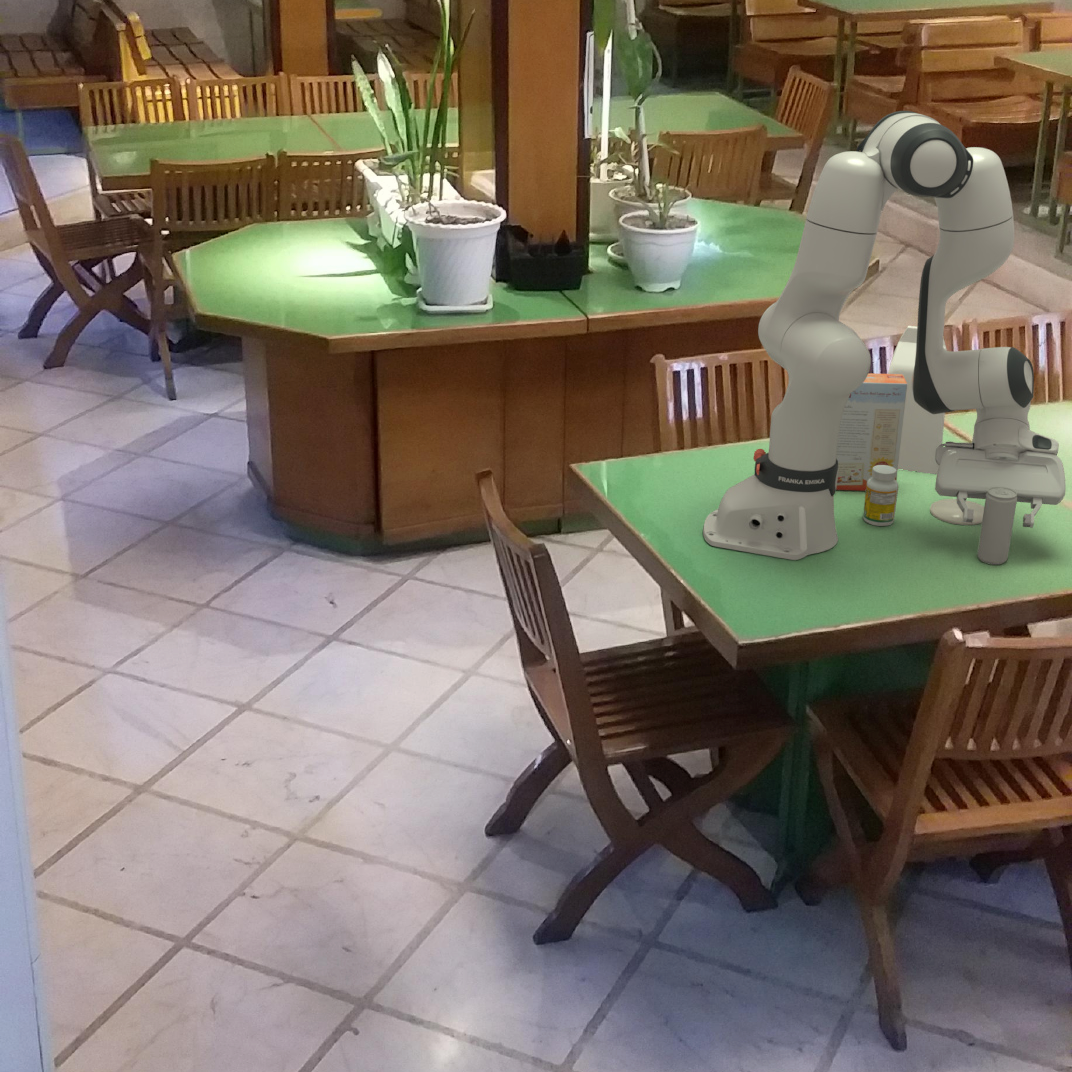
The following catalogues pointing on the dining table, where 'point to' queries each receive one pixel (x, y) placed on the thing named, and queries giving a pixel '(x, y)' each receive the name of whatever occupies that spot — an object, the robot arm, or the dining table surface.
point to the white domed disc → (956, 512)
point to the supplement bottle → (881, 496)
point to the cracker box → (870, 429)
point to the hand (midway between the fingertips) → (998, 523)
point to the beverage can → (997, 525)
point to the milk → (916, 413)
